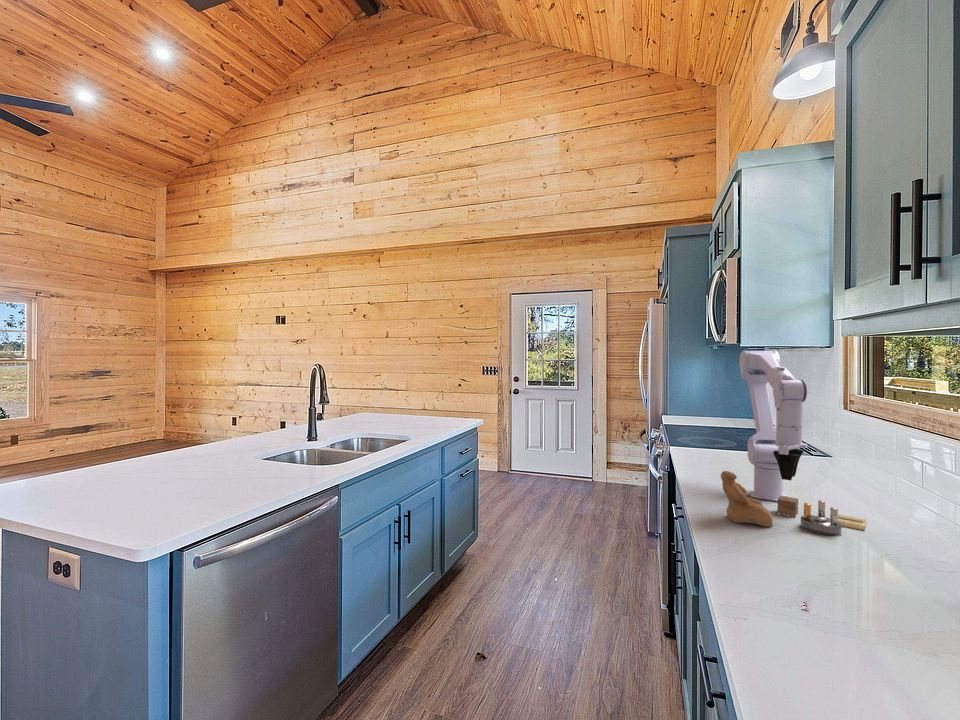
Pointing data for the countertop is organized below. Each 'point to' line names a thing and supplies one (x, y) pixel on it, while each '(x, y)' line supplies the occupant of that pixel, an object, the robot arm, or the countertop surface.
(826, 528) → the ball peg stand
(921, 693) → the countertop surface
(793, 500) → the block
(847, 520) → the pad
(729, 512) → the figurine
